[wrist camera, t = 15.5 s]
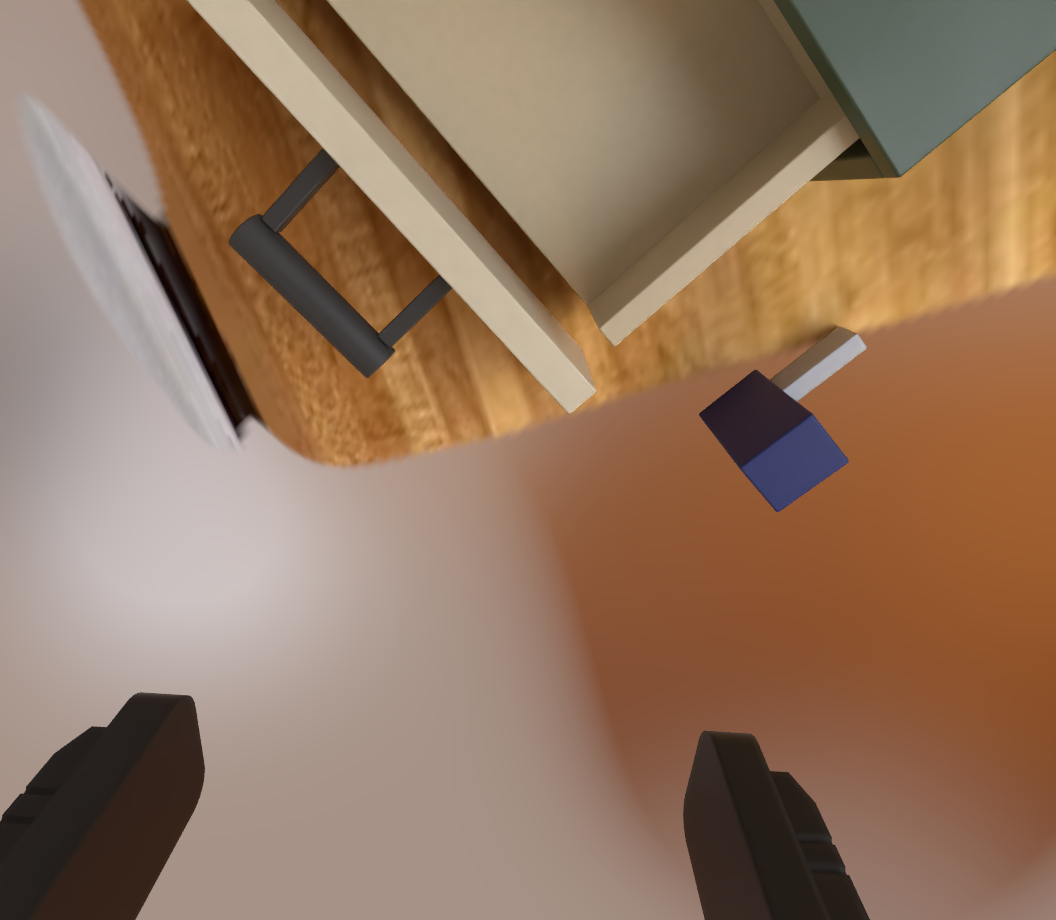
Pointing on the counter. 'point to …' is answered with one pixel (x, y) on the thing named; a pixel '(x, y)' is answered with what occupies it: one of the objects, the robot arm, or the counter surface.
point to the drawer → (546, 152)
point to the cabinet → (915, 68)
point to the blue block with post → (783, 422)
